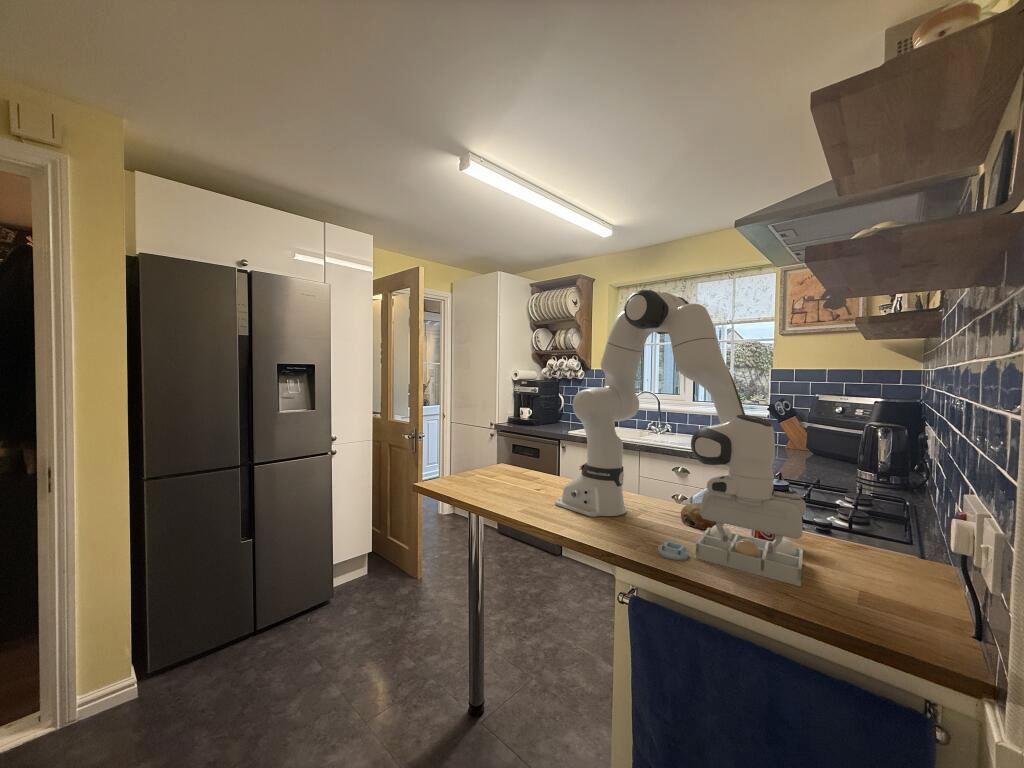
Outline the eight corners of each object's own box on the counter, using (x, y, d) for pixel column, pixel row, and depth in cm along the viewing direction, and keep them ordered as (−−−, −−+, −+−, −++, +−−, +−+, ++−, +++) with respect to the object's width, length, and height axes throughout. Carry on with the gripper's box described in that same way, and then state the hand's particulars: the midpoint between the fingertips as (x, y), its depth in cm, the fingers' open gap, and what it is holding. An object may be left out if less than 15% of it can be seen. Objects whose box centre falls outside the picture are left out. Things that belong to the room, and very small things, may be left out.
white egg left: (708, 544, 102) (708, 525, 102) (711, 538, 106) (712, 520, 106) (729, 549, 99) (730, 529, 99) (732, 543, 103) (733, 524, 103)
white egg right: (770, 559, 94) (771, 539, 94) (771, 552, 98) (772, 533, 98) (795, 565, 92) (796, 544, 92) (796, 558, 96) (796, 538, 95)
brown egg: (736, 554, 97) (737, 534, 97) (760, 560, 94) (760, 539, 94) (733, 561, 93) (733, 540, 93) (757, 567, 90) (758, 545, 90)
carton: (695, 558, 97) (696, 543, 97) (707, 540, 108) (708, 527, 108) (800, 586, 85) (801, 569, 85) (802, 563, 96) (802, 548, 96)
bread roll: (676, 533, 123) (672, 511, 120) (691, 512, 129) (687, 491, 126) (711, 543, 115) (707, 520, 113) (724, 521, 121) (720, 499, 119)
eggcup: (654, 554, 98) (654, 546, 98) (662, 545, 104) (662, 537, 104) (684, 563, 94) (685, 554, 94) (692, 553, 99) (692, 545, 99)
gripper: (806, 493, 90) (803, 555, 90) (705, 476, 102) (702, 531, 102) (806, 499, 85) (802, 565, 85) (699, 481, 97) (697, 539, 97)
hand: (747, 547), depth 94 cm, fingers open, 8 cm apart
